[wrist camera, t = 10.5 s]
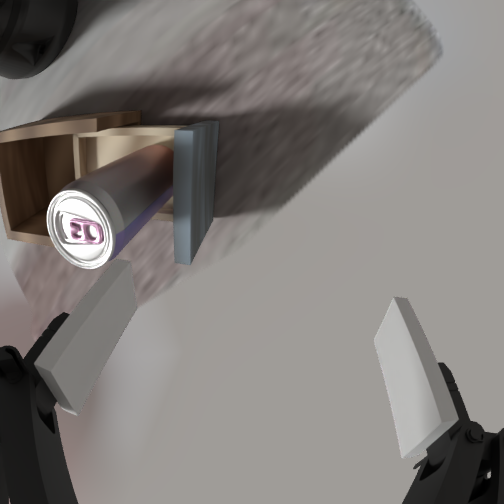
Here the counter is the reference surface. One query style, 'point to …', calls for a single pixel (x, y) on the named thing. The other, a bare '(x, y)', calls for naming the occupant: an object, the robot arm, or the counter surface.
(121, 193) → the beverage can
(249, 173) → the counter surface
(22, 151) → the caddy
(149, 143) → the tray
